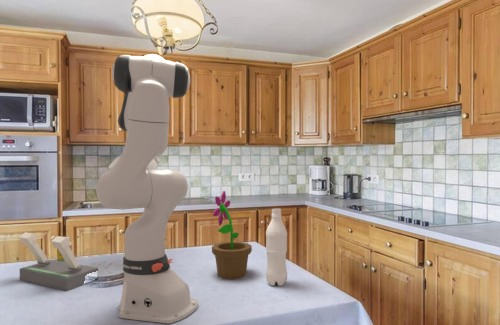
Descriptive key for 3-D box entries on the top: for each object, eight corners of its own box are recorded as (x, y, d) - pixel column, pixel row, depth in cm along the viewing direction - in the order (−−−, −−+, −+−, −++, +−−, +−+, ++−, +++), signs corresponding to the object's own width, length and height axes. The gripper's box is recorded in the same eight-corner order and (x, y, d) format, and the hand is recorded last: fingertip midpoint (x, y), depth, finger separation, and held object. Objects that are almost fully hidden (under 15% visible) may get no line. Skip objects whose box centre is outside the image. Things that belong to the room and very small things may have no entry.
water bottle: (291, 283, 120) (291, 209, 119) (278, 289, 114) (278, 211, 114) (275, 278, 125) (274, 206, 124) (261, 283, 119) (261, 209, 119)
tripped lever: (83, 267, 121) (66, 237, 115) (77, 273, 119) (60, 242, 113) (74, 265, 123) (57, 235, 117) (68, 271, 121) (50, 241, 115)
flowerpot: (224, 266, 138) (223, 189, 138) (258, 271, 132) (257, 190, 132) (204, 277, 125) (203, 192, 125) (240, 283, 119) (240, 194, 119)
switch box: (98, 279, 124) (97, 266, 124) (67, 291, 113) (67, 277, 113) (51, 270, 134) (51, 258, 134) (19, 280, 123) (19, 267, 123)
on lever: (51, 261, 128) (33, 233, 121) (45, 267, 126) (27, 238, 119) (43, 260, 129) (25, 232, 123) (37, 265, 127) (18, 237, 121)
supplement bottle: (71, 258, 150) (70, 235, 149) (72, 261, 145) (72, 238, 145) (56, 260, 147) (56, 237, 147) (57, 263, 142) (57, 239, 142)
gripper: (116, 150, 145) (96, 175, 136) (156, 149, 136) (138, 176, 128) (124, 160, 149) (106, 186, 140) (163, 161, 140) (146, 187, 132)
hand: (121, 181), depth 134 cm, fingers closed
